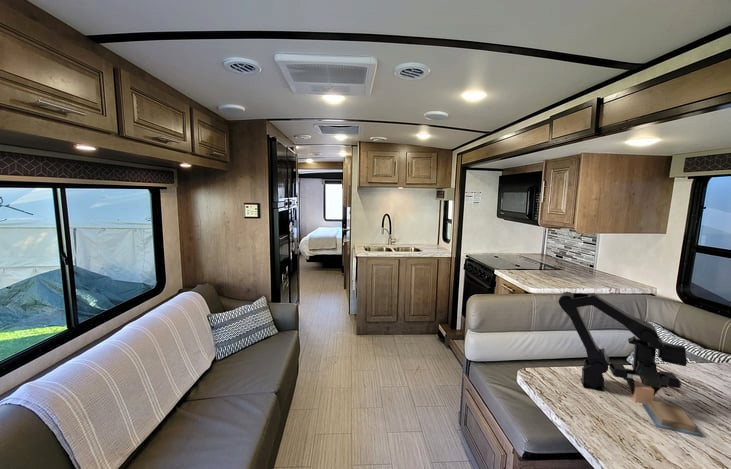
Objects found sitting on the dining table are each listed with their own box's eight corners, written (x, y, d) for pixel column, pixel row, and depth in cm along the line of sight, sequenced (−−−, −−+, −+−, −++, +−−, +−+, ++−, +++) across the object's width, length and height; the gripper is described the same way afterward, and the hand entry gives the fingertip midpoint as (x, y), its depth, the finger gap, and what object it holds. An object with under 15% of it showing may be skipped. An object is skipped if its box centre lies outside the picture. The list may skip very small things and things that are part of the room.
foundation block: (656, 426, 97) (656, 418, 97) (642, 405, 107) (642, 398, 106) (702, 437, 92) (703, 428, 92) (683, 414, 102) (684, 406, 102)
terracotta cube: (635, 402, 109) (636, 387, 108) (630, 393, 113) (631, 379, 113) (653, 405, 107) (654, 390, 106) (647, 397, 111) (648, 382, 110)
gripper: (619, 362, 105) (617, 402, 107) (691, 374, 97) (687, 417, 98) (609, 348, 115) (607, 385, 117) (674, 357, 107) (670, 397, 108)
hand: (641, 395), depth 110 cm, fingers closed on terracotta cube, 5 cm apart
